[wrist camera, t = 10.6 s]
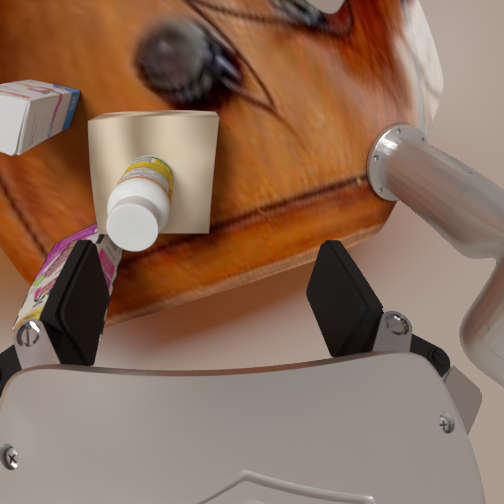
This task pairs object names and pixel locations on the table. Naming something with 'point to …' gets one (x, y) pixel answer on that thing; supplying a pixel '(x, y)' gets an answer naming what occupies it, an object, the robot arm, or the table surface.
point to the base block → (165, 147)
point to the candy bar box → (54, 264)
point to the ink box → (33, 113)
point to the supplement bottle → (140, 203)
